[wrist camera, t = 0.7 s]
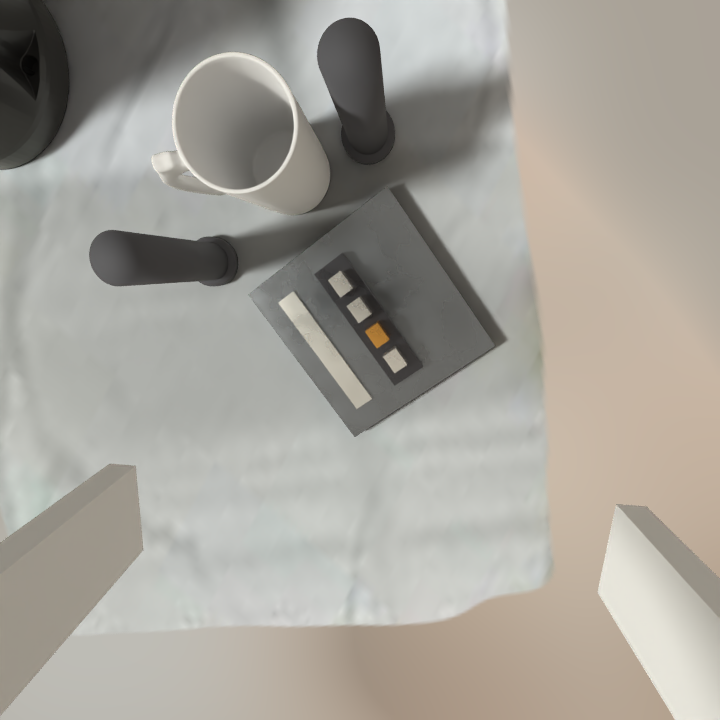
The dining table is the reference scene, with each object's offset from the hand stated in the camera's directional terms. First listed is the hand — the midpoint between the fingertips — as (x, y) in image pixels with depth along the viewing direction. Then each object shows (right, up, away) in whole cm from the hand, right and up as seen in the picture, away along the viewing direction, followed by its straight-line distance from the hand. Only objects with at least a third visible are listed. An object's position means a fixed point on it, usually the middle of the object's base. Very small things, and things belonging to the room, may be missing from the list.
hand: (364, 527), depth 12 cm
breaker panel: (+1, +8, +24) cm, 25 cm away
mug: (-7, +19, +22) cm, 30 cm away
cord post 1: (-12, +13, +24) cm, 30 cm away
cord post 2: (+1, +22, +21) cm, 30 cm away
